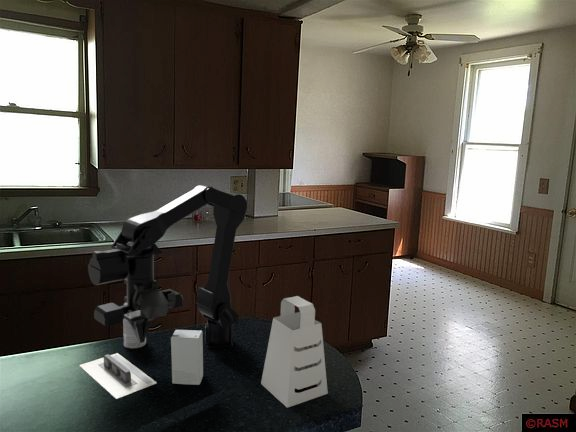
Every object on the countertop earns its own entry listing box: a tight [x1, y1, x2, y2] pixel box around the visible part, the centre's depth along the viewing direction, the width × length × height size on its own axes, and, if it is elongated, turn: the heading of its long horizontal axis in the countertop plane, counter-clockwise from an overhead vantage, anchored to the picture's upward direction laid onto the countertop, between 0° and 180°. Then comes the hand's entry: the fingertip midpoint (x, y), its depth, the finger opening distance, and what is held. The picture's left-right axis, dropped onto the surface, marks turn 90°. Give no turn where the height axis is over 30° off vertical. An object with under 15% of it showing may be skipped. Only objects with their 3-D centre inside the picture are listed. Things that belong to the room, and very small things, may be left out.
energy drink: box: [122, 301, 147, 349], centre depth 115 cm, size 5×5×12 cm
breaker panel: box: [78, 352, 158, 400], centre depth 101 cm, size 9×18×2 cm, turn 46°
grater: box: [260, 295, 329, 408], centre depth 99 cm, size 10×10×20 cm
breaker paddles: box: [104, 353, 131, 384], centre depth 101 cm, size 1×10×2 cm, turn 46°
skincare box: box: [170, 329, 204, 386], centre depth 99 cm, size 6×4×12 cm
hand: (141, 342), depth 104 cm, fingers closed
